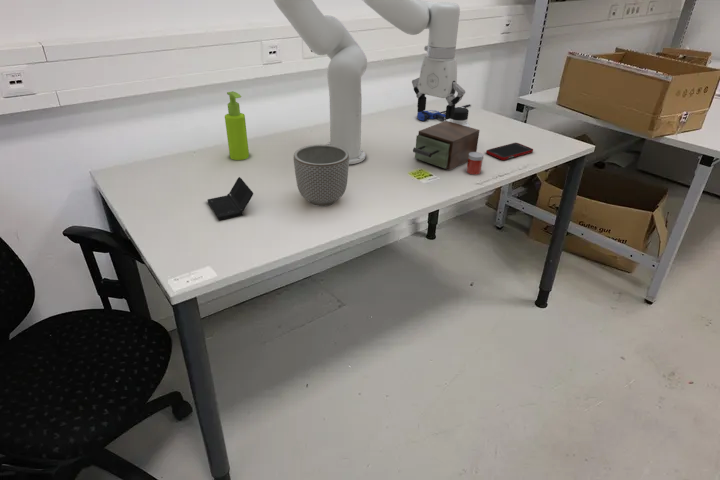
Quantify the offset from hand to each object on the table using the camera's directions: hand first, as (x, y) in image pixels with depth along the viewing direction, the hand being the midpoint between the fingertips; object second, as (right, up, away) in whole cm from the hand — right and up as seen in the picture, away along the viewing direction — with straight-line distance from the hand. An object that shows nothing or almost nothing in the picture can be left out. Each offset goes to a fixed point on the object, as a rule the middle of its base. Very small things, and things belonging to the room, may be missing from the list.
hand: (434, 114), depth 142 cm
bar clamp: (+14, +14, +54) cm, 57 cm away
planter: (-32, -26, -13) cm, 43 cm away
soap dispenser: (-59, -11, +11) cm, 61 cm away
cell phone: (+27, -8, +18) cm, 33 cm away
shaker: (+12, -16, +4) cm, 21 cm away
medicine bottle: (+11, -3, +25) cm, 28 cm away
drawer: (+2, -11, +10) cm, 15 cm away
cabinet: (+6, -10, +13) cm, 18 cm away
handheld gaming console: (-55, -28, -18) cm, 64 cm away
